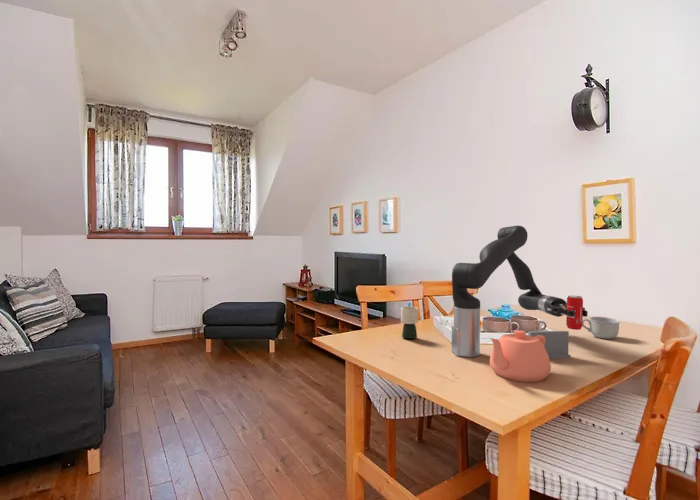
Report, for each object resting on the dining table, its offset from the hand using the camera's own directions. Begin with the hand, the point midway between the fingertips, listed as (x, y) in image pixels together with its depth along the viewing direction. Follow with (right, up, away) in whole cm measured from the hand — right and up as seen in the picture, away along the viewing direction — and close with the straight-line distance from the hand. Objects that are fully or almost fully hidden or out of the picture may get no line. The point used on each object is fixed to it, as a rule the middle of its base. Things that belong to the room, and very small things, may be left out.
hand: (580, 313), depth 139 cm
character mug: (-59, -14, +21) cm, 65 cm away
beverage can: (0, -6, +3) cm, 7 cm away
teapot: (-33, -15, -22) cm, 42 cm away
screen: (-14, -15, -4) cm, 21 cm away
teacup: (+24, -14, +25) cm, 37 cm away
